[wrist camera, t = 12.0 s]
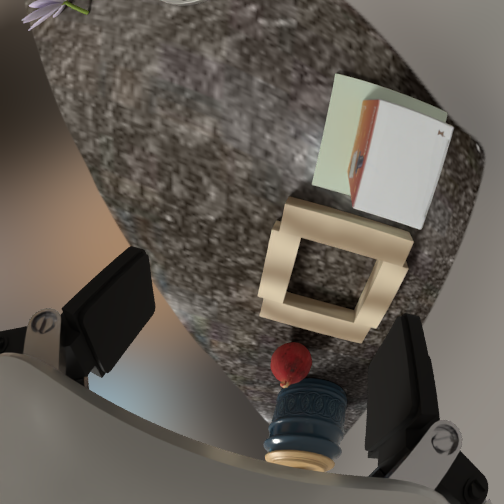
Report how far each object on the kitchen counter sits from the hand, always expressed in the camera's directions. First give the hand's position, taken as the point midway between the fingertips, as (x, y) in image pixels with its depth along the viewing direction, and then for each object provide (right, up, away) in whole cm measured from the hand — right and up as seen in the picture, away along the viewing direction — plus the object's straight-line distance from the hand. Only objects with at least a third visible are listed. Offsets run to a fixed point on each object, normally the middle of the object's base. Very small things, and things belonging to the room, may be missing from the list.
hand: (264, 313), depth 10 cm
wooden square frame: (+9, 0, +24) cm, 26 cm away
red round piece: (+6, -12, +32) cm, 34 cm away
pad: (+13, +13, +15) cm, 23 cm away
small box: (+12, +13, +15) cm, 23 cm away
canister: (+11, -24, +37) cm, 46 cm away
